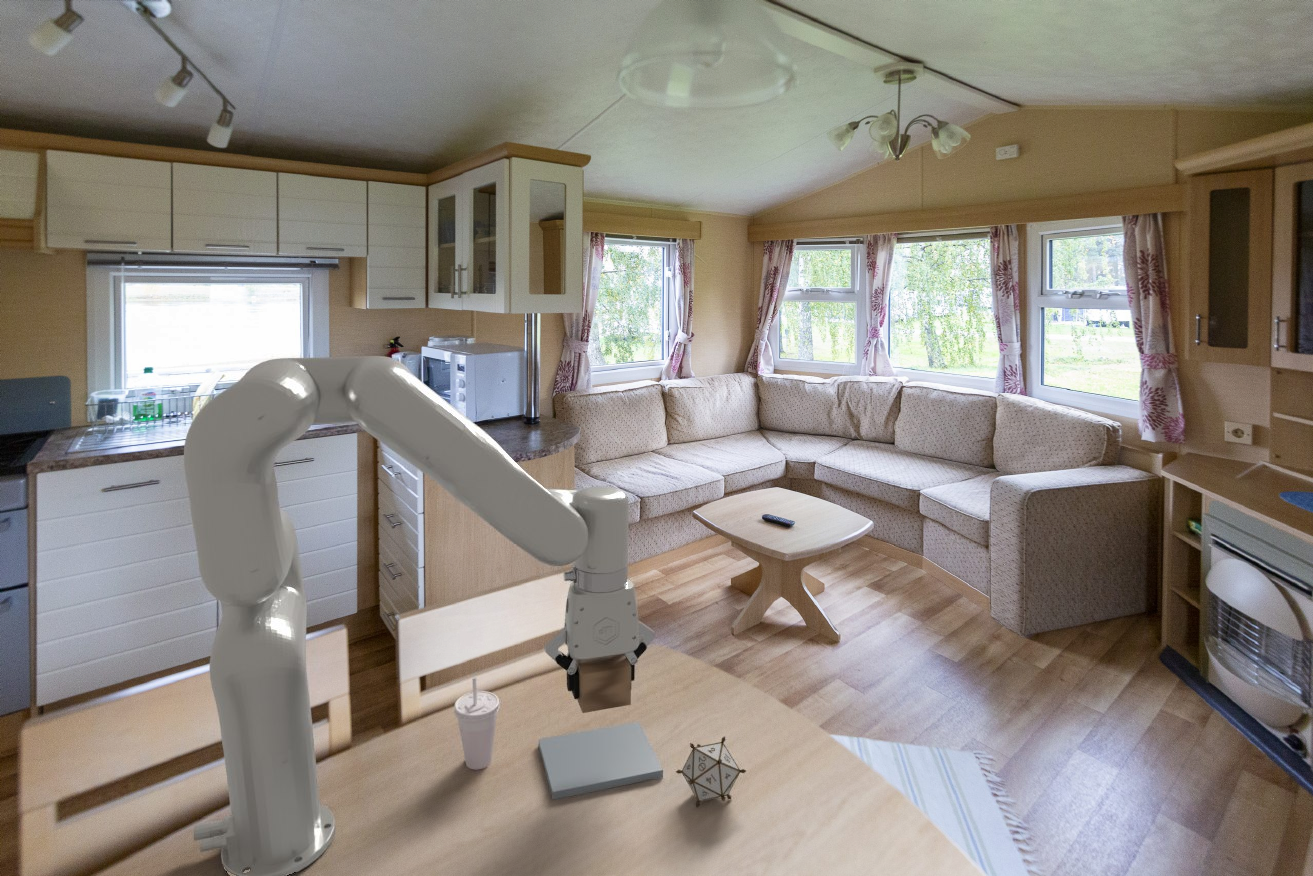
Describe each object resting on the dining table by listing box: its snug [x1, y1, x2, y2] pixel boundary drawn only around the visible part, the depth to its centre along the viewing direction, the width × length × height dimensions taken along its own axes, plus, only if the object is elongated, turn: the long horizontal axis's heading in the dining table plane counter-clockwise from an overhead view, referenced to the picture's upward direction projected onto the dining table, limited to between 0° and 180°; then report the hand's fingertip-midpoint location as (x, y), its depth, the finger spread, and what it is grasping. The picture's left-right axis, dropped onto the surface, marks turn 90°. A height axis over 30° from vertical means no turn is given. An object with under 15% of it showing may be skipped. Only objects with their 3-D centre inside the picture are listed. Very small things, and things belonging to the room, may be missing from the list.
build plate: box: [538, 721, 664, 800], centre depth 107 cm, size 16×12×1 cm
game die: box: [675, 735, 747, 808], centre depth 100 cm, size 9×8×10 cm
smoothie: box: [453, 676, 501, 771], centre depth 105 cm, size 6×6×14 cm
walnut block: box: [576, 654, 632, 714], centre depth 104 cm, size 7×7×6 cm
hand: (600, 688), depth 104 cm, fingers closed on walnut block, 7 cm apart
